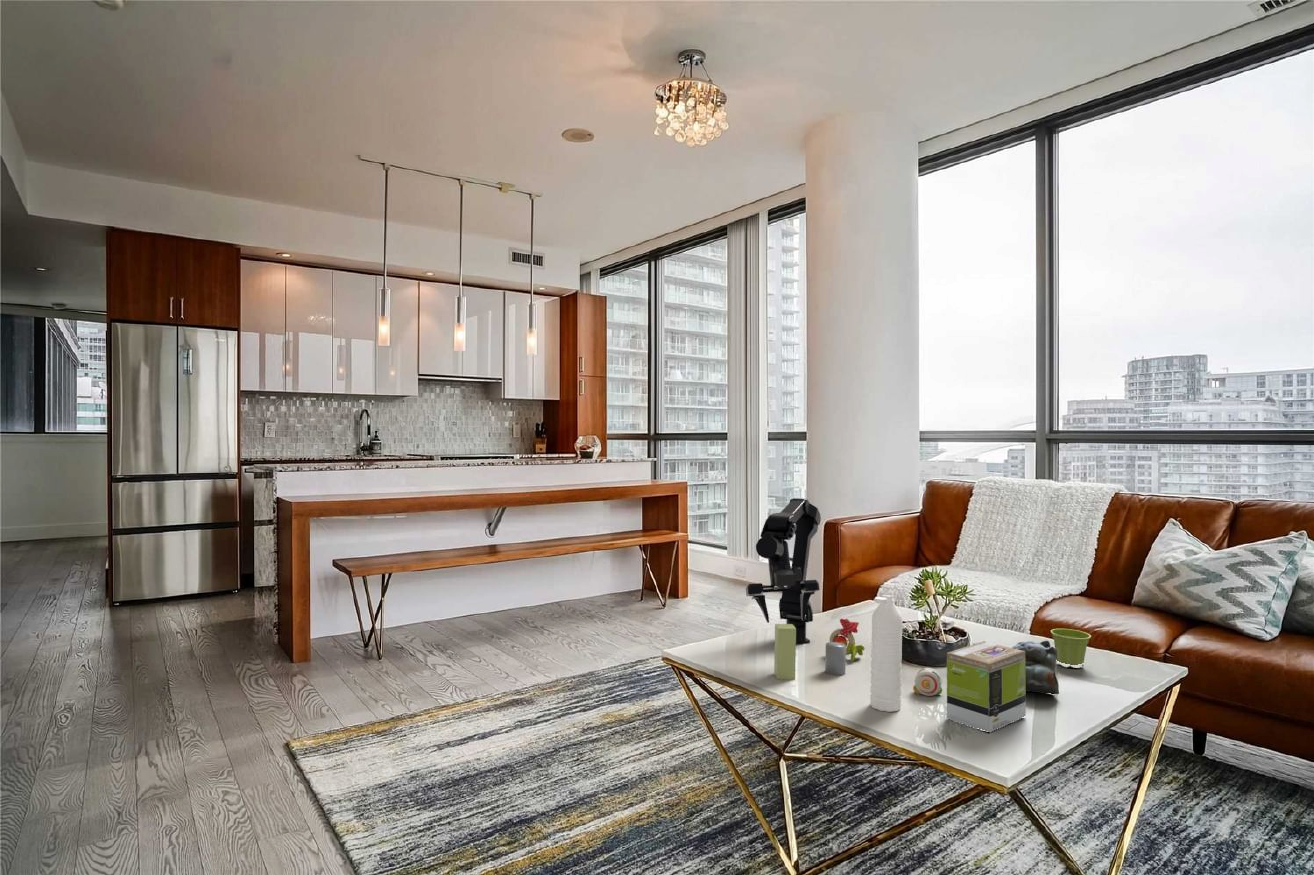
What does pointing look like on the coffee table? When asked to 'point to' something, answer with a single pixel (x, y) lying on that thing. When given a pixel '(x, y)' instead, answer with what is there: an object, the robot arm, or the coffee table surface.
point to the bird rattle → (847, 632)
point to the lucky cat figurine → (1040, 666)
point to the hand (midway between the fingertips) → (785, 621)
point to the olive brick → (785, 651)
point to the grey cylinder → (835, 658)
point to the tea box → (986, 685)
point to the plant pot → (1070, 645)
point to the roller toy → (928, 682)
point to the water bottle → (886, 655)
